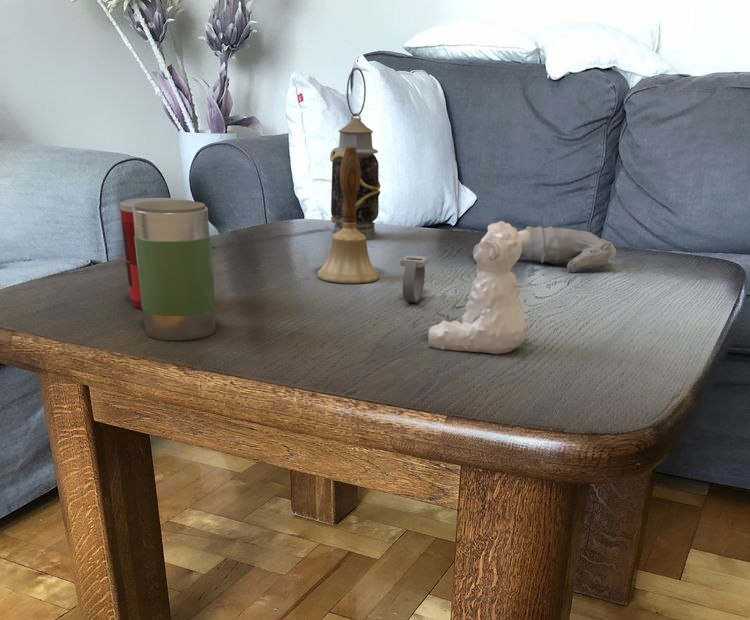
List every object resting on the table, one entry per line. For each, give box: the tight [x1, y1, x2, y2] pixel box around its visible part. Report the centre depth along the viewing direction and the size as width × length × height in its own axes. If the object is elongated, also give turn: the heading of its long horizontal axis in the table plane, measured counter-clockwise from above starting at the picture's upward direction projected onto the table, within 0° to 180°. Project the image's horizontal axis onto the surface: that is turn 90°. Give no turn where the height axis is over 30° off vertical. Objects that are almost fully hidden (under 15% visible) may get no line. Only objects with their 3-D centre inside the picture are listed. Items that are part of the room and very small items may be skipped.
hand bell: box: [316, 146, 381, 285], centre depth 105 cm, size 8×8×16 cm
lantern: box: [329, 67, 381, 241], centre depth 131 cm, size 9×8×25 cm
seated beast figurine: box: [427, 220, 530, 355], centre depth 79 cm, size 10×9×12 cm
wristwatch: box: [399, 255, 430, 304], centre depth 96 cm, size 6×3×5 cm, turn 164°
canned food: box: [119, 197, 192, 310], centre depth 91 cm, size 8×8×11 cm
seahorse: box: [472, 225, 617, 273], centre depth 118 cm, size 5×12×20 cm
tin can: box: [133, 200, 216, 342], centre depth 81 cm, size 7×7×12 cm
